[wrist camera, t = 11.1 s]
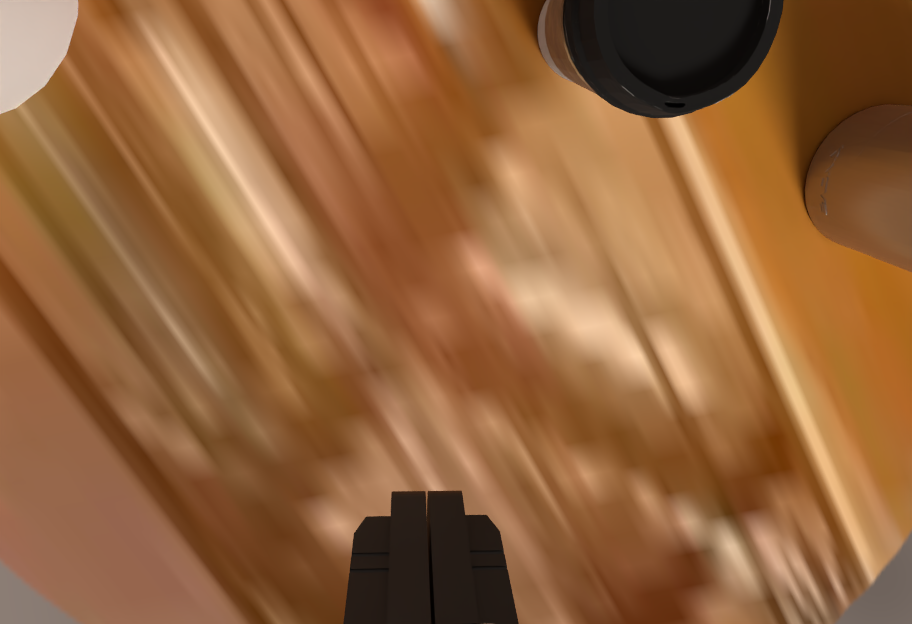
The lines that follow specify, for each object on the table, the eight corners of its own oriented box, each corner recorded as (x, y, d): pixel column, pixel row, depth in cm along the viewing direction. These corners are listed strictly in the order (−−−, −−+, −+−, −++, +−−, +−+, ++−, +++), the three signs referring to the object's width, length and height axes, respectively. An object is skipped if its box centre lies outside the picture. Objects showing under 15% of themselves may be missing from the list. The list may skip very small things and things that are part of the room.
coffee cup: (508, 99, 38) (566, 113, 24) (524, -60, 36) (600, -148, 22) (643, 110, 39) (773, 129, 25) (669, -45, 36) (833, -120, 22)
